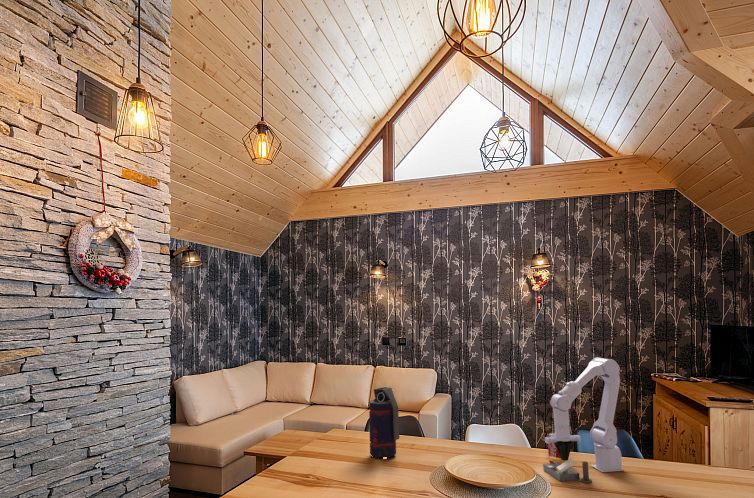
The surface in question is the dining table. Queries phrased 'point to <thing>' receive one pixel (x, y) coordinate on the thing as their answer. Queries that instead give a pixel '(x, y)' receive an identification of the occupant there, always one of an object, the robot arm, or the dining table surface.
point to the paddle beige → (566, 465)
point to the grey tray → (561, 476)
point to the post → (585, 473)
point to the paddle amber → (556, 459)
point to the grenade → (383, 423)
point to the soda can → (552, 449)
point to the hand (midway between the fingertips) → (564, 460)
